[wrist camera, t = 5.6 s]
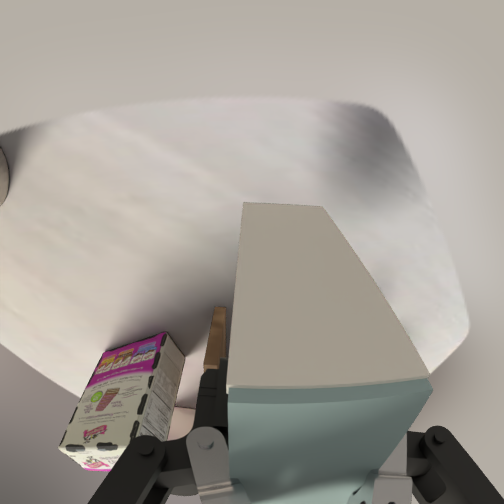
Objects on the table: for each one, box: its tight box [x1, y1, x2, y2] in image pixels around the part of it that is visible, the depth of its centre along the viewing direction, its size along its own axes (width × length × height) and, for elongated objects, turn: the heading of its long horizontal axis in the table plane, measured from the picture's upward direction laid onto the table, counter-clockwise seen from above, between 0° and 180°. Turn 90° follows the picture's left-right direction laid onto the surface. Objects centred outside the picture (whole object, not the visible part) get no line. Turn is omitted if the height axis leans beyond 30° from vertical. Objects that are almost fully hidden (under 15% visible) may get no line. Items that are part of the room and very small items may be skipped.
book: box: [226, 202, 433, 504], centre depth 14 cm, size 5×10×14 cm, turn 177°
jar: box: [167, 407, 199, 496], centre depth 38 cm, size 9×8×12 cm
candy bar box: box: [58, 332, 185, 471], centre depth 30 cm, size 11×5×16 cm, turn 115°
